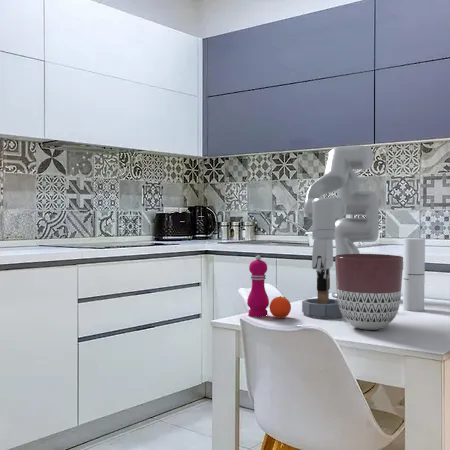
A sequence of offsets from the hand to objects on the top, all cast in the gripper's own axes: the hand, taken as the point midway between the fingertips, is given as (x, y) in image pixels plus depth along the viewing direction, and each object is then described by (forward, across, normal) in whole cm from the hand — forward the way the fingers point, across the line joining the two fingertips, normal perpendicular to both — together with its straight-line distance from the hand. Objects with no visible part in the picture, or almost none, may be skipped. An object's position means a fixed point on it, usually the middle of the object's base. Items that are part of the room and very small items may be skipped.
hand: (323, 289), depth 194 cm
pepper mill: (+9, +11, -19) cm, 24 cm away
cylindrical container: (+9, -24, +26) cm, 36 cm away
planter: (+9, +16, +18) cm, 26 cm away
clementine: (+9, +11, -11) cm, 18 cm away
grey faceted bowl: (+9, 0, 0) cm, 9 cm away
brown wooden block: (+7, 0, 0) cm, 7 cm away
